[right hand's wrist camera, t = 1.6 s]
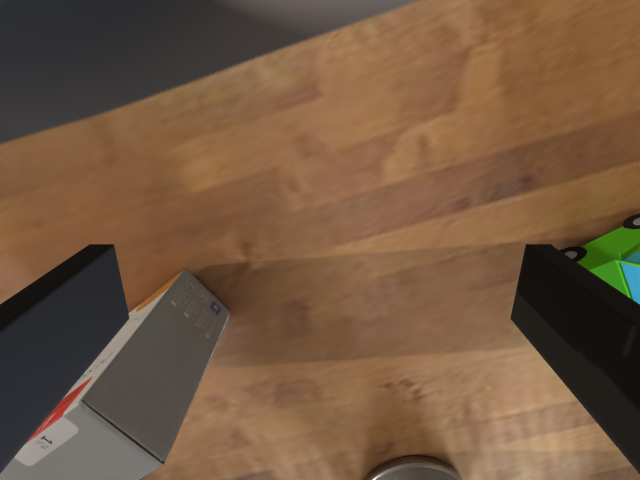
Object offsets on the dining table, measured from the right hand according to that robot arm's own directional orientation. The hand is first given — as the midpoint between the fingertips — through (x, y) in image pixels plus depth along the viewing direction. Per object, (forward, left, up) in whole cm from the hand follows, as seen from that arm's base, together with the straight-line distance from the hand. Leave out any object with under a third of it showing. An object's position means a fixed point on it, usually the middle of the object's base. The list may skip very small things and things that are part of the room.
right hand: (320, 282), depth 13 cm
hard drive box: (-20, +19, -28) cm, 39 cm away
